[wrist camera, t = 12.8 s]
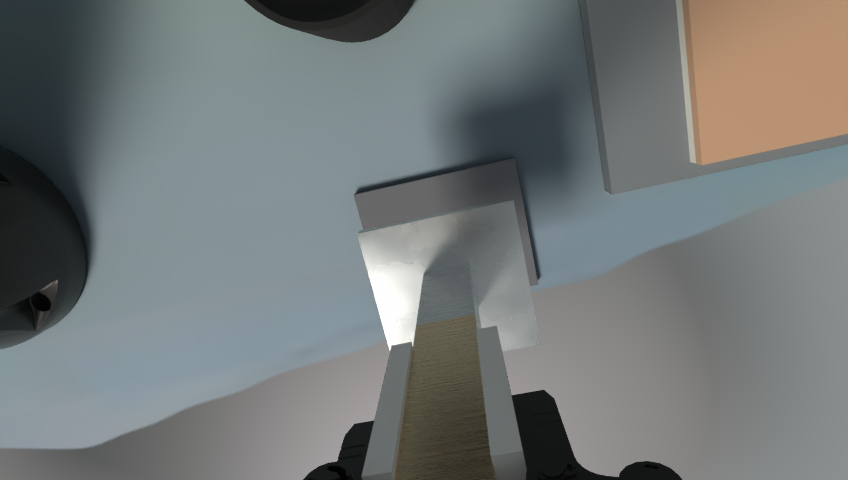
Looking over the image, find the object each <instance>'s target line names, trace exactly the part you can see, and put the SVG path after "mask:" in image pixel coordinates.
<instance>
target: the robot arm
mask: <svg viewBox="0 0 848 480" xmlns="http://www.w3.org/2000/svg"><path fill="white" fill-rule="evenodd" d="M85 274H86V252H85V246H84V241H83V237H82V234H81V231H80V228H79V225H78V223H77V220H76V218H75V216H74V214H73V212H72V210H71V209H70V207H69V205H68V204H67V202H66V201H65V199H64V198H63V196H62V195H61V193H60V192H59V191H58V190H57V189H56V187H55V186H54V185H53V184H52V183H51V182H50V181H49V180H48V179H47V178H46V177H45V176H44V175H43V174H42V173H41V172H40V171H39V170H37V169H36V168H35V167H34V166H33V165H31V164H30V163H28V162H27V161H26V160H24V159H23V158H21V157H19V156H18V155H16V154H14V153H12V152H10V151H8V150H6V149H4V148H2V147H0V349H4V348H8V347H12V346H14V345H17V344H20V343H23V342H25V341H27V340H29V339H31V338H33V337H35V336H36V335H38V334H40V333H42V332H43V331H45V330H47V329H48V328H50V327H52V326H54V325H55V324H57V323H58V322H59V321H61V320H62V319H63V318H64V317H65V316H66V315H67V314H68V313H69V312H70V311H71V309H72V308H73V307H74V305H75V304H76V302H77V300H78V298H79V296H80V294H81V291H82V288H83V285H84V281H85ZM476 334H477V342H478V351H479V360H480V368H481V377H482V386H483V395H484V403H485V412H486V421H487V429H488V438H489V447H490V456H491V460H492V464H493V466H494V470H495V474H496V479H497V480H682V479H681V478H680V476H679V475H678V474H677V473H675V472H674V471H673V470H672V469H671V468H669V467H667V466H664V465H662V464H660V463H655V462H649V461H644V462H635V463H633V464H631V465H628V466H626V467H625V468H624V469H623V470H622V471H621V472H620V475H619V477H611V476H604V475H598V474H595V473H593V472H590V471H588V470H586V469H585V468H583V467H582V466H581V465H580V464H579V463H578V462H577V461H576V459H575V457H574V454H573V451H572V448H571V446H570V443H569V440H568V437H567V434H566V431H565V428H564V425H563V423H562V420H561V417H560V414H559V412H558V408H557V405H556V403H555V400H554V398H553V397H552V396H550V395H549V394H548V393H547V392H546V391H545V390H540V391H535V392H529V393H524V394H517V395H511V390H510V385H509V381H508V376H507V372H506V367H505V362H504V358H503V353H502V348H501V343H500V338H499V334H498V329H497V326H491V327H486V328H481V329H476ZM412 352H413V345H412V342H407V343H402V344H397V345H392V346H391V350H390V355H389V359H388V364H387V368H386V372H385V376H384V381H383V385H382V390H381V394H380V398H379V403H378V407H377V411H376V415H375V420H374V421H369V422H363V423H358V424H354V425H353V427H352V428H351V429H350V430H349V431H348V433H347V434H346V435H345V437H344V440H343V443H342V447H341V451H340V453H339V457H338V461H337V462H332V463H327V464H324V465H322V466H319V467H317V468H316V469H314V470H313V471H311V472H310V473H309V474H308V475H307V476H306V477H305V478H304V479H303V480H394V478H395V471H396V464H397V457H398V450H399V443H400V436H401V429H402V422H403V415H404V408H405V401H406V394H407V387H408V380H409V373H410V366H411V359H412Z"/></svg>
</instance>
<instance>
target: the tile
mask: <svg viewBox="0 0 848 480" xmlns="http://www.w3.org/2000/svg"><path fill="white" fill-rule="evenodd" d="M676 8H677V19H678V30H679V41H680V53H681V64H682V75H683V86H684V97H685V109H686V120H687V131H688V142H689V153H690V162H692V163H696V164H700V165H705V164H710V163H715V162H719V161H724V160H729V159H733V158H738V157H742V156H747V155H752V154H756V153H761V152H765V151H770V150H775V149H779V148H784V147H789V146H793V145H798V144H802V143H807V142H812V141H816V140H821V139H825V138H830V137H835V136H839V135H844V134H848V0H676Z"/></svg>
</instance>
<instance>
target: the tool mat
mask: <svg viewBox="0 0 848 480" xmlns="http://www.w3.org/2000/svg"><path fill="white" fill-rule="evenodd" d="M354 197H355V201H356V204H357V208H358V212H359V215H360V219H361V223H362V226H363V230H366V229H371V228H375V227H380V226H384V225H389V224H394V223H398V222H403V221H407V220H412V219H416V218H421V217H426V216H430V215H435V214H439V213H444V212H449V211H453V210H458V209H462V208H467V207H472V206H476V205H481V204H485V203H490V202H495V201H499V200H504V199H508V198H513V200H514V205H515V210H516V215H517V220H518V226H519V231H520V236H521V242H522V247H523V252H524V258H525V263H526V268H527V273H528V279H529V284H530V286H532V285H537V284H538V280H537V275H536V269H535V264H534V259H533V253H532V248H531V242H530V237H529V231H528V226H527V220H526V215H525V210H524V204H523V199H522V193H521V188H520V182H519V177H518V171H517V166H516V161H515V158H510V159H505V160H501V161H496V162H492V163H488V164H483V165H479V166H474V167H470V168H466V169H461V170H457V171H452V172H448V173H444V174H439V175H435V176H430V177H426V178H422V179H417V180H413V181H408V182H404V183H400V184H395V185H391V186H386V187H382V188H377V189H373V190H369V191H364V192H360V193H355V194H354Z"/></svg>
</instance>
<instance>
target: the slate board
mask: <svg viewBox="0 0 848 480" xmlns="http://www.w3.org/2000/svg"><path fill="white" fill-rule="evenodd" d="M579 5H580V12H581V20H582V27H583V34H584V41H585V49H586V56H587V63H588V70H589V78H590V85H591V92H592V100H593V107H594V114H595V121H596V129H597V136H598V143H599V150H600V158H601V165H602V172H603V179H604V187H605V191H607V192H609V193H610V194H617V193H622V192H626V191H631V190H636V189H640V188H645V187H650V186H654V185H659V184H664V183H668V182H673V181H678V180H682V179H687V178H692V177H696V176H701V175H706V174H710V173H715V172H720V171H724V170H729V169H734V168H738V167H743V166H748V165H752V164H757V163H762V162H766V161H771V160H776V159H780V158H785V157H790V156H794V155H799V154H804V153H808V152H813V151H818V150H822V149H827V148H832V147H836V146H841V145H846V144H848V134H844V135H839V136H835V137H830V138H825V139H821V140H816V141H812V142H807V143H802V144H798V145H793V146H789V147H784V148H779V149H775V150H770V151H765V152H761V153H756V154H752V155H747V156H742V157H738V158H733V159H729V160H724V161H719V162H715V163H710V164H705V165H700V164H696V163H692V162H690V153H689V142H688V131H687V120H686V109H685V97H684V86H683V75H682V64H681V53H680V41H679V30H678V19H677V8H676V0H579Z"/></svg>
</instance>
